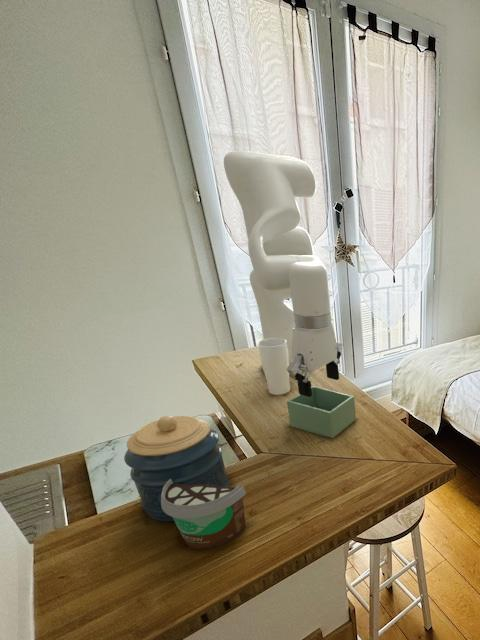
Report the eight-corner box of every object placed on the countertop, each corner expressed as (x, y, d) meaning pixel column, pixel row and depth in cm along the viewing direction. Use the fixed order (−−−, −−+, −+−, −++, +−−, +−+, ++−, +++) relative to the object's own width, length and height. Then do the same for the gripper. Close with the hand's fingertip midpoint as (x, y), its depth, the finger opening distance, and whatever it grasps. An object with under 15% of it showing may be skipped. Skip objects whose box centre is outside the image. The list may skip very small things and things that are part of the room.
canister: (233, 506, 73) (214, 426, 66) (142, 534, 66) (108, 448, 58) (227, 466, 82) (209, 393, 75) (146, 487, 75) (117, 408, 68)
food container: (154, 552, 63) (136, 505, 59) (181, 522, 69) (166, 478, 65) (233, 557, 64) (220, 511, 60) (254, 527, 70) (244, 483, 65)
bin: (316, 408, 106) (313, 385, 102) (355, 419, 103) (354, 396, 100) (290, 426, 97) (286, 401, 94) (332, 438, 95) (330, 413, 92)
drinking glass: (298, 387, 115) (291, 339, 108) (284, 398, 109) (276, 348, 102) (275, 384, 115) (268, 336, 109) (260, 395, 109) (251, 344, 102)
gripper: (324, 307, 97) (330, 369, 104) (268, 327, 82) (279, 398, 89) (351, 312, 95) (355, 376, 103) (298, 334, 80) (307, 406, 87)
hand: (320, 386), depth 96 cm, fingers open, 9 cm apart
